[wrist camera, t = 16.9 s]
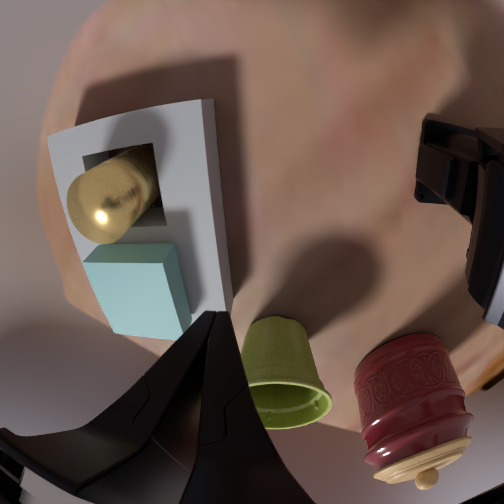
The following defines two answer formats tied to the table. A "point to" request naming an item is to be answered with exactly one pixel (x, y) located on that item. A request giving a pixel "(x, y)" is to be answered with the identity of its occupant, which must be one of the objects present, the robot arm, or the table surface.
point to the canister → (411, 410)
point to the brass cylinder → (114, 194)
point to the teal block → (140, 289)
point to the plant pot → (283, 374)
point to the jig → (163, 190)
